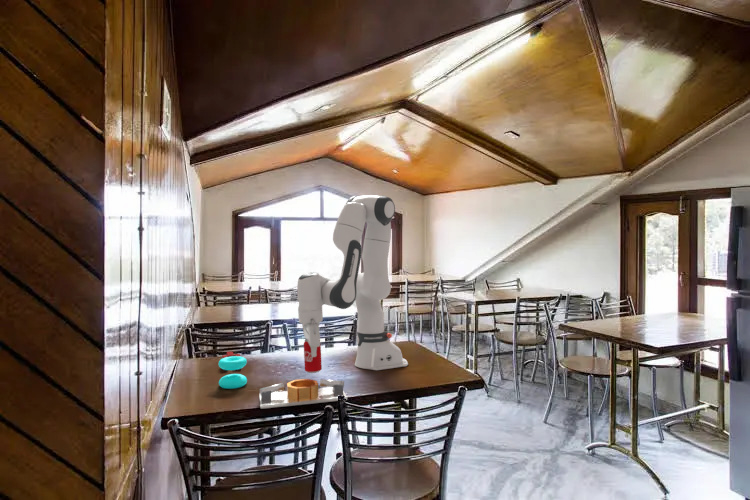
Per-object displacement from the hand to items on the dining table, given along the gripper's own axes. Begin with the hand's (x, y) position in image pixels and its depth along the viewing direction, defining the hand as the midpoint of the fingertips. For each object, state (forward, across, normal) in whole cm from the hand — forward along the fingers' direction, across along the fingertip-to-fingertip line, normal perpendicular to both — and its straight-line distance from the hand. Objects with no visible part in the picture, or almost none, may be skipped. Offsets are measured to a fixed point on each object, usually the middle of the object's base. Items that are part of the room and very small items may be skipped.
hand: (312, 353), depth 175 cm
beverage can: (+7, 0, 0) cm, 7 cm away
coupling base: (+11, -16, +6) cm, 20 cm away
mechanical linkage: (+11, +35, +31) cm, 48 cm away
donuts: (+10, +6, +29) cm, 31 cm away
